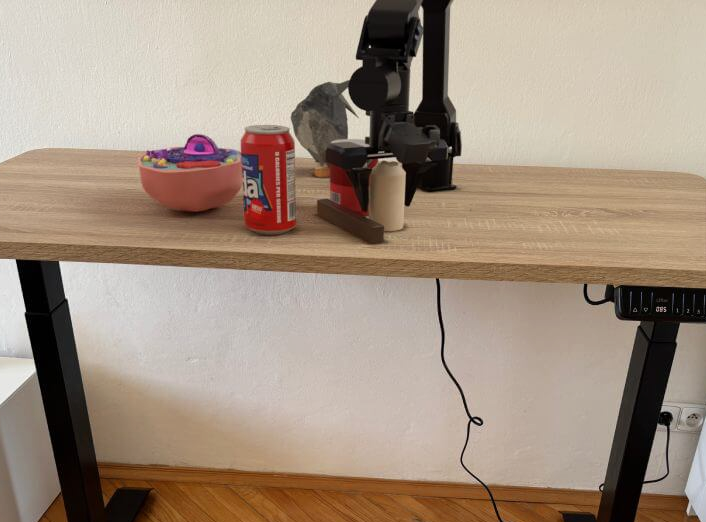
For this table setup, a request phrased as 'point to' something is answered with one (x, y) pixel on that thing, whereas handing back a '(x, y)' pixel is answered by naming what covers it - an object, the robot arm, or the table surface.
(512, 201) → the table surface
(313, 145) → the grey bird figurine
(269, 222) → the soda can
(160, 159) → the cell model
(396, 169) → the candle
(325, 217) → the walnut rail
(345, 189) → the canned food
